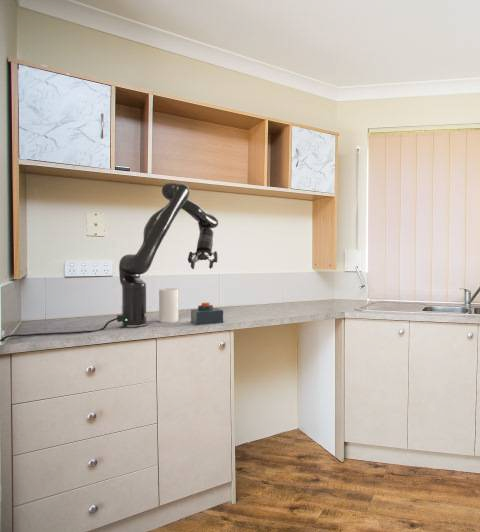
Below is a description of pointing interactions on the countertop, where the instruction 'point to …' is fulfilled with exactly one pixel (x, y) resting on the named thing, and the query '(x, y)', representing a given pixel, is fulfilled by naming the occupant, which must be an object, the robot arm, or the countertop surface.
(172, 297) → the cup
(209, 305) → the button
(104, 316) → the countertop surface
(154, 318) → the countertop surface
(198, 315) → the grey button base
